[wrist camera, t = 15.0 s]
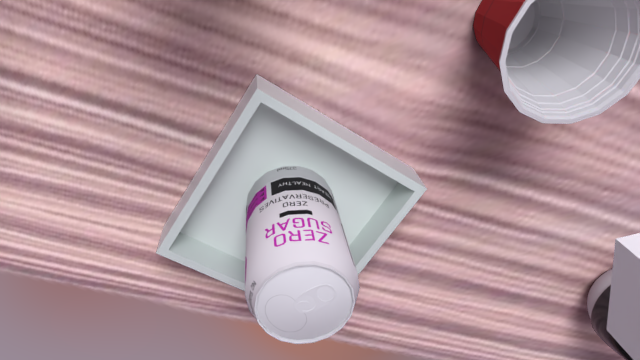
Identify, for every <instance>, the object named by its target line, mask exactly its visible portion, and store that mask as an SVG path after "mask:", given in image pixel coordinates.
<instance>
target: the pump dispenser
mask: <svg viewBox="0 0 640 360" xmlns="http://www.w3.org/2000/svg"><path fill="white" fill-rule="evenodd" d="M612 270H613V268H612V269H610V270H608V271H607V272H605V273H604V274H602V275H601V276H600V277H599V278H598V279H597V280H596V281H595V282H594V284H593V285H592V287H591V289H590V291H589V294H588V299H587V308H588V313H589V316H590V319H591V324H592V327H593V329H594V331H595V332H596V333H597V335H598V336H599V337H600V338H601V339H602V340H603V341H604V342H605V343H606V344H607V345H608V346H609V347H611V348H612V349H613V350H614V351H615V352H616V353H618V354H619V355H620V356H621V357H622V358H624V359H625V360H633V359H632V358H631V357H630V355H629V354H628V353H627V352H626V351H625V350H624V349H623V348H622V346H621V345H620V344H619V343H618V342H617V341H616V340H615V339H614V338H613V336H612V335H611V334H610V333H609V332H608V331H607V330H606V329H607V319H608V310H609V300H610V290H611V280H612Z"/></svg>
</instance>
